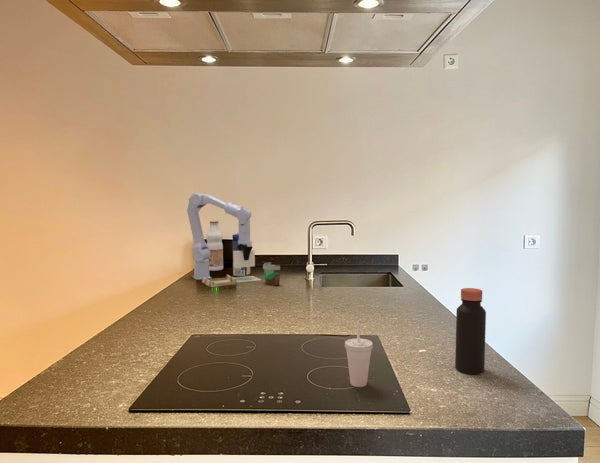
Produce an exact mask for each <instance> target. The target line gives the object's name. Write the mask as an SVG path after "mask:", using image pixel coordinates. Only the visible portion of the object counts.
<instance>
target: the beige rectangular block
mask: <svg viewBox="0 0 600 463" xmlns="http://www.w3.org/2000/svg"><path fill="white" fill-rule="evenodd" d="M255 252H256V251H255V250H254V249H252V250H251V252H250V256H249V260H244V256H243V251H242V250H241V251H233V250H232V268H233V267H235V268H240V267H250V268H252V267H255V266H256V258H255V255H256V254H255Z"/></svg>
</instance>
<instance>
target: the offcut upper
mask: <svg viewBox="0 0 600 463" xmlns="http://www.w3.org/2000/svg"><path fill="white" fill-rule="evenodd" d="M230 282H231V281H218V282H213V284H220V283H230Z"/></svg>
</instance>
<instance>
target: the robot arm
mask: <svg viewBox="0 0 600 463" xmlns="http://www.w3.org/2000/svg"><path fill="white" fill-rule="evenodd" d="M207 204H209V205H212V206H216V207H217V208H220V209H223V210H224V212H225V214H228V215H229V216H232V217H234V218H236V219H237V220H238V233H239V240H238V244H240V245H238V246H237V248H238V250H239V251H241V250H242V251H243V256H244V260H249V256H250V252H251V250H253V246H252V244H253V241H252V240H251V217H252V212H251V211H250V209H248V208H244V206H242V205H241V206H240V205H238V204H236V203H235V202H233V201H232V202H231V201H230V202H225V201H223V200H221V199H218V198H217V197H214V196H213V195H211V194H207V193H206V192H202V193H197V192H194V193H192V194H191V196H189V198H188V205H187V210H186V211H187V212H186V213H187V217H188V221H189V225H190V230H191V234H192V239H193V247H192V251H193V252H192V258H193V260H194V264H193V275H192V276H191V277H192V279H195V280H202V277H204V278H206V279H213V278H212V276H210V270H209V258H210V256H211V251H210V249H209V248H208V245H207V242H206V241H205V237H204V232H203V226H202V224H201V219H200V218H201V217H200V214H199V213H200V211H201V209H202V208H203V207H205V206H206V205H207Z"/></svg>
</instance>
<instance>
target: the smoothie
mask: <svg viewBox="0 0 600 463" xmlns="http://www.w3.org/2000/svg"><path fill="white" fill-rule="evenodd" d="M356 324H357V325H356V326H357V327H356V328H357V330H356V332H357V334H356V338H349V339H347V340H345V341H344V348H345V349H346V356H347V357H346V358H347V366H348V374H349V375H348V376H349V381H350V382H349V383H350V385H351V386H353V387H354V388H355V387H356V388H362V387H366V386H367V383H368V377H369V368H370V361H371V354H372V350H373V348H374V344H373V341H371V340H369V339H367V338H366V339H365V338H361V337H360V336H361V334H360V333H361V332H360V331H361V330H360V329H361V328H360V327H361V326H360V325H361V324H360V322H357V323H356Z"/></svg>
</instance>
